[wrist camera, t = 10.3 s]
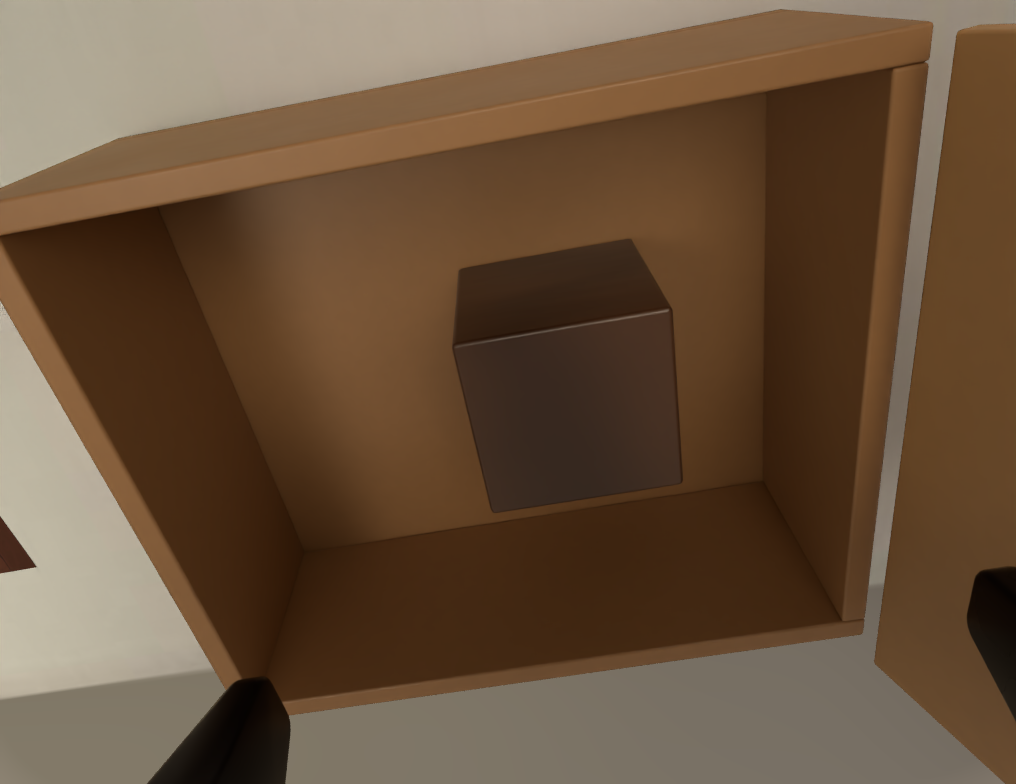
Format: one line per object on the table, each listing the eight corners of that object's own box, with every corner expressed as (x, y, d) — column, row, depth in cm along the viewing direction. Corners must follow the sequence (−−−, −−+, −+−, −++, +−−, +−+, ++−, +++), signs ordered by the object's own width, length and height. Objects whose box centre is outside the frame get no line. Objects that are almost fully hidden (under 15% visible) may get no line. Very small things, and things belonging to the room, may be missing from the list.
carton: (782, 8, 14) (935, 20, 9) (773, 480, 20) (864, 635, 15) (117, 138, 15) (-54, 210, 10) (298, 554, 21) (243, 722, 16)
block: (632, 236, 16) (673, 307, 12) (645, 388, 18) (684, 485, 14) (457, 267, 16) (450, 345, 13) (489, 414, 18) (491, 516, 15)
